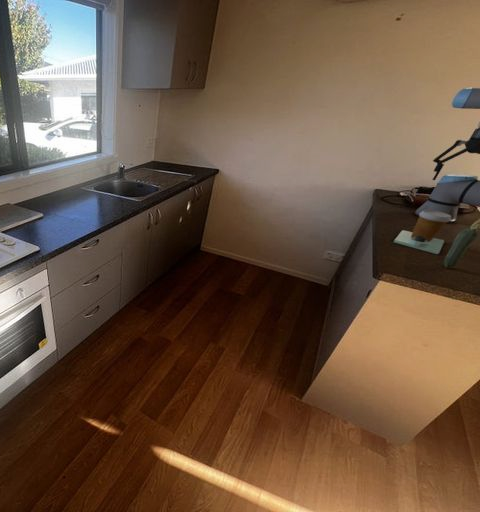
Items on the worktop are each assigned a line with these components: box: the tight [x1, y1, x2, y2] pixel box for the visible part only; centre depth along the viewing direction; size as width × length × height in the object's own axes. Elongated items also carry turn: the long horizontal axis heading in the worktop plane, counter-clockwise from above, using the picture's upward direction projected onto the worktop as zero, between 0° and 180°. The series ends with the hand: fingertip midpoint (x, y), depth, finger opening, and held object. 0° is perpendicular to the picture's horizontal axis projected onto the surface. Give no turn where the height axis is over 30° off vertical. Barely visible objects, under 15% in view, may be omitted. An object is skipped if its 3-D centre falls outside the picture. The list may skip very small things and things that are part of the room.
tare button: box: [415, 236, 426, 242], centre depth 124 cm, size 3×3×2 cm
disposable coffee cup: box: [411, 210, 451, 242], centre depth 127 cm, size 10×10×12 cm
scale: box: [393, 229, 445, 255], centre depth 128 cm, size 18×14×3 cm
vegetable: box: [443, 217, 480, 269], centre depth 105 cm, size 4×4×20 cm
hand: (456, 183), depth 121 cm, fingers open, 13 cm apart
